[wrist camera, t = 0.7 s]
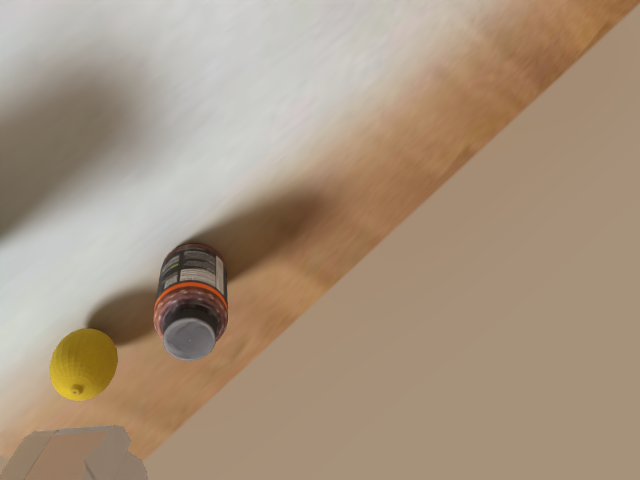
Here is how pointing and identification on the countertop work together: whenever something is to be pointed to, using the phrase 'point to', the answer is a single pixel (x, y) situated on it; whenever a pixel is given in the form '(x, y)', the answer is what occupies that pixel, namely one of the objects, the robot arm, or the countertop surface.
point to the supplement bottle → (191, 301)
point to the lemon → (83, 364)
